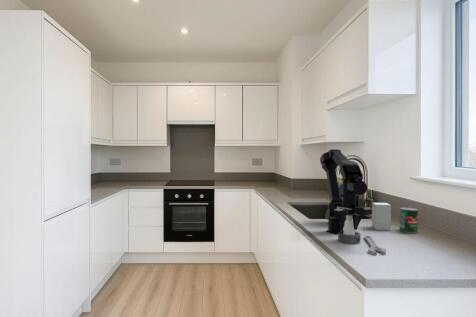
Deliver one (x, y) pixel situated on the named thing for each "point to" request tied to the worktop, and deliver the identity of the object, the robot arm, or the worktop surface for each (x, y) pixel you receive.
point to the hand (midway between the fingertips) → (349, 228)
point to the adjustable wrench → (374, 247)
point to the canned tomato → (408, 220)
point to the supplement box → (381, 216)
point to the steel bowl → (349, 238)
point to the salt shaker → (349, 226)
